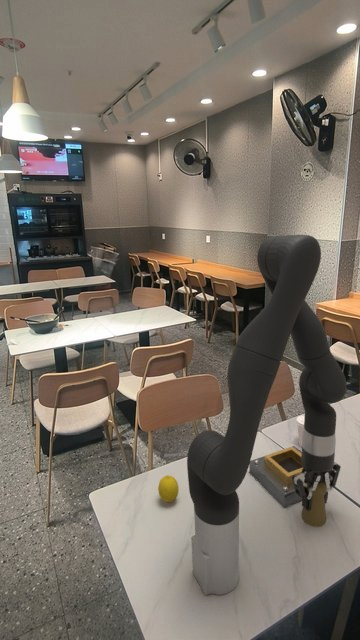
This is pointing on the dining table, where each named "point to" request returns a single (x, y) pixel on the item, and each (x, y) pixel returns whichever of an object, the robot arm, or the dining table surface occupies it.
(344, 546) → the dining table surface
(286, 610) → the dining table surface
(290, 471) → the square socket fixture
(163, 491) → the lemon
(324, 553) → the dining table surface
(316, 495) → the olive pestle shaped cylinder
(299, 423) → the smoothie
